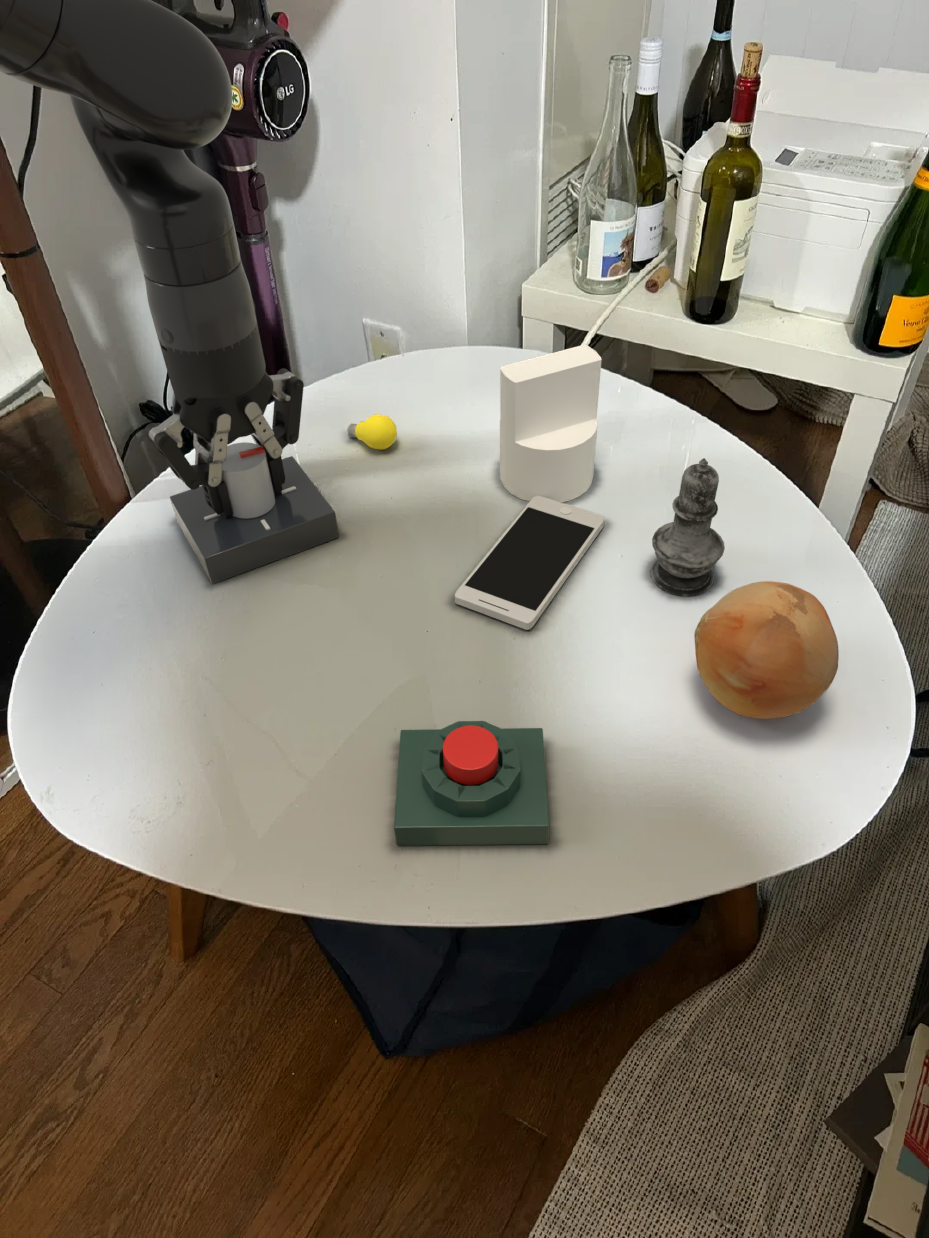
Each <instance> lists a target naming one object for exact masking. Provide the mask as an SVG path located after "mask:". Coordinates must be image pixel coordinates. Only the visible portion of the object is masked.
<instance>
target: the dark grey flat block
mask: <svg viewBox="0 0 929 1238" xmlns="http://www.w3.org/2000/svg"><path fill="white" fill-rule="evenodd" d="M282 463H283V469H284V473H285V483H284V484H282V491H281V492H279V493H277V494H275V499H276V501H275V505H274V507H273V508H272V509H271V510H270V511H269V512H267V513H266V514H264V515H261V516H259V517H255V518H248V519H244V518H238V517H235V516H232V515H231V516H229V517H227V518H224V517H223V516H222V515H221V514H219V515H218V514H217V513H216V512H215V511H214V510H213V509H212V508H210V506H209V505H208V504H207V502H206V498H205V494H204V491H203V488H202V485H200V486H199V487H198V488H197V489H194V490H192V489H188V490H185V491H182V492H179V493H176V494H173V495H170V496H169V500H170V503H171V507H172V510H173V512H174V517H175V519H176V522H177V524H178V525H179V528H180V529H181V531H182V533H183V535H184V537H185V539H186V540H187V542H188V544H189V545H190V548H191V549H192V552H194V554H195V556H196V558H197V560H198V561H199V563H200V566H201V567H202V569H203V571H204V572H205V574H206V576H207V578H208V579H209V581H210V583H211V584H212V585H215V584H217V583H220V582H223V581H225V580H228V579H231V578H233V577H235V576H239V575H242V574H244V573H246V572H249V571H252V570H255V569H258V568H260V567H263V566H265V565H268V564H272V563H274V562H276V561H279V560H282V559H284V558H287V557H290V556H292V555H296V554H299V553H301V552H303V551H307V550H309V549H311V548H314V547H318V546H320V545H322V544H325V543H328V542H331V541H333V540H336V539H338V538H340V534H339V533H340V532H339V528H338V522H337V515H336V511H335V510H334V508H333V507H332V505H331V504H330V503H329V502H328V501H327V499H326V498H325V497H324V495H323V493H321V491H320V490H319V488H317V486H316V485H315V484H314V482H313V481H312V480H311V478H310V476H308V474H307V473H306V472H305V470H304V469H303V468H302V467H301V465H300V464H299V462H297V460H296V459H295V457H294V456H293V455H290V456H288V457H284V458H282Z"/></svg>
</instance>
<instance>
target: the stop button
mask: <svg viewBox="0 0 929 1238" xmlns="http://www.w3.org/2000/svg"><path fill="white" fill-rule="evenodd" d="M443 759H444V768H445V771H446V773H447V774H448V775H449V777H450V778H451V779H453V780H454V781H456V782H458V783H460V784H464V785H478V784H481V783H484V782H486V781H487V780H489V779H490V778H491V777H492V776H493V775H494V774H495V772H496V770H497V768H498V743H497V740H496V738H495V737H494V735H493V734H492V733H491V732H489V731H488V730H486V729H484V728H482V727H479V726H463V727H460V728H457V729H455V730H454V731H452V732H451V733H450V734H449V735H448V736H447V737H446V739H445V741H444V744H443Z"/></svg>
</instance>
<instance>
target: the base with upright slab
mask: <svg viewBox="0 0 929 1238" xmlns="http://www.w3.org/2000/svg"><path fill="white" fill-rule="evenodd" d="M602 360H603V359H602V357H601V356H600V354H599V353H598V352H597V350H595V349H594V348H592V347H590V346H589V345H587V344H582V345H578V346H573V347H570V348H566V349H562V350H559V351H556V352H555V351H554V352H550V353H547V354H543V355H539V356H536V357H532V358H529V359H523V360H521V361H517V362H513V363H509V364H505V365H500V368H499V372H500V373H499V378H500V379H499V381H500V382H499V386H500V391H499V397H500V398H499V399H500V400H499V402H500V403H499V404H500V408H499V409H500V412H499V413H500V415H499V417H500V418H499V477H500V483H501V484H502V486H503V487H504V489H505V490H506V491H507V492H509V493H510V494H511V495H513V496H514V497H516V498H517V499H520V500H523V501H525V502H528V503H529V502H530V500H531V499H532V498H533V497H534V496H537V495H539V496H542V497H545V498H548V499H551V500H555V501H558V502H561V503H565V502H570V501H572V500H575V499H576V498H579V497H581V496H582V495H583V494H585V493H586V492H587V491H588V490H589V488H590V487H591V486H592V485H593V480H594V473H595V472H594V471H595V462H596V461H595V460H596V449H597V448H596V447H597V439H598V437H597V436H598V427H599V426H598V425H599V423H598V409H599V396H600V395H599V394H600V383H601V372H602Z"/></svg>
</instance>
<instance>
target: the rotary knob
mask: <svg viewBox="0 0 929 1238" xmlns="http://www.w3.org/2000/svg"><path fill="white" fill-rule="evenodd" d="M222 480H223V481H224V482H225V484H226V488H227V492H228V496H229V500H230V504H231V508H232V511H233V515H232V516H235V517H238V518H244V519H248V518H255V517H259V516H261V515H264V514H266V513H267V512H269V511H270V510H271V509H272V508H273V507H274V505H275V501H276V499H275V494H274V489H273V485H272V480H271V475H270V471H269V466H268V462H267V457H266V452H265V449H264V447H263V446H259V445H257V444H256V443H255V442H248V441H247V442H245V441H244V442H236V443H231V444H228V445H227V457H226V461H224V462H223V467H222Z"/></svg>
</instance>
